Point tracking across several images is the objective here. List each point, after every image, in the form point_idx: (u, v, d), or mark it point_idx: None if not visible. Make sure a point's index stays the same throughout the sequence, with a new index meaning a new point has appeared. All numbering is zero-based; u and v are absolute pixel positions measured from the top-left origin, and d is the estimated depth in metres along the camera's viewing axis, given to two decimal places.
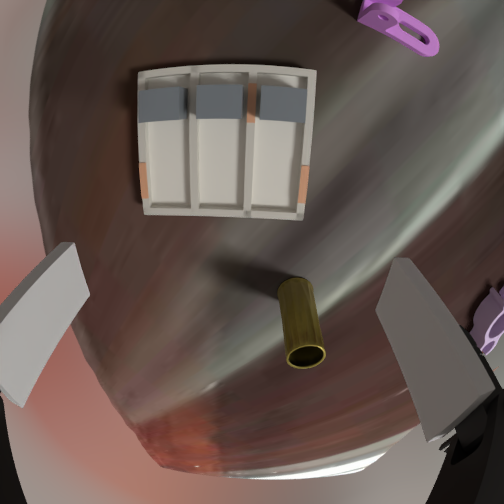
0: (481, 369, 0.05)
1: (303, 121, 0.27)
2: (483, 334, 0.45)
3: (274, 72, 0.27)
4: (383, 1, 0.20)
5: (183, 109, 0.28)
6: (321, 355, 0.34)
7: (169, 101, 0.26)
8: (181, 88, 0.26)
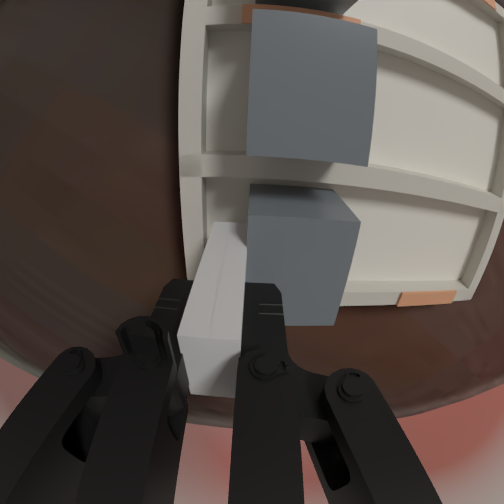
0: (235, 317, 0.07)
1: None
2: None
3: None
4: None
5: (316, 199, 0.11)
6: None
7: (295, 246, 0.10)
8: (253, 205, 0.10)
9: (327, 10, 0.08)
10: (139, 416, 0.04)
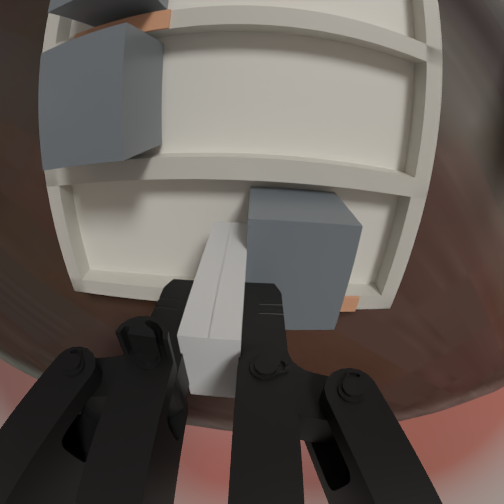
0: (235, 317, 0.07)
1: None
2: None
3: None
4: None
5: (318, 203, 0.11)
6: None
7: (296, 250, 0.09)
8: (253, 208, 0.10)
9: (149, 10, 0.08)
10: (139, 416, 0.04)
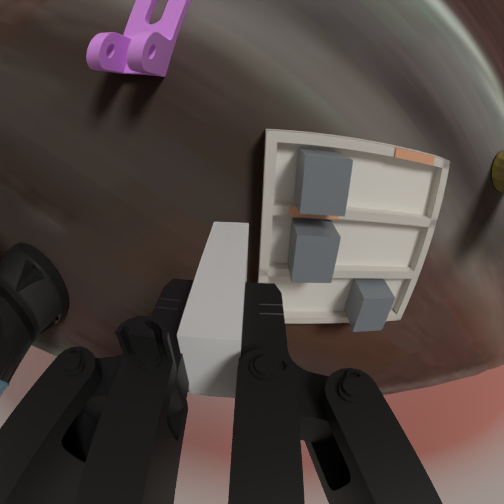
0: (235, 317, 0.07)
1: (350, 162, 0.20)
2: None
3: (273, 184, 0.24)
4: (121, 52, 0.17)
5: (380, 287, 0.29)
6: None
7: (375, 306, 0.27)
8: (363, 293, 0.28)
9: None
10: (139, 416, 0.04)
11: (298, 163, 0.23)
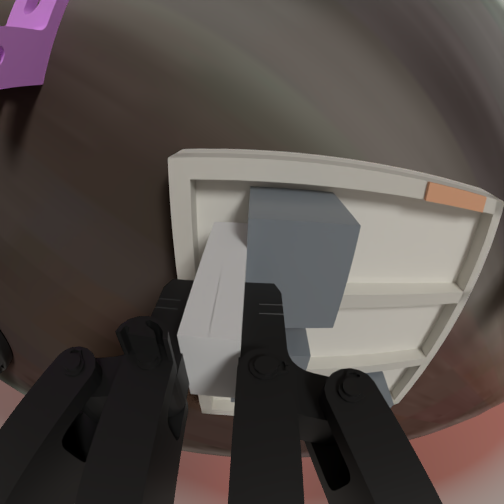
0: (235, 317, 0.07)
1: (355, 230, 0.09)
2: None
3: (192, 256, 0.14)
4: None
5: None
6: None
7: None
8: None
9: None
10: (139, 416, 0.04)
11: None
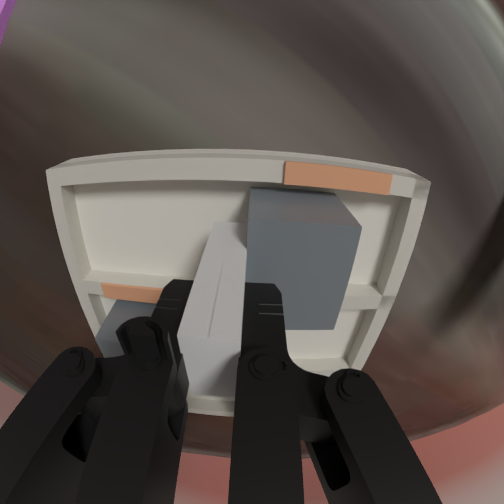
0: (235, 317, 0.07)
1: (356, 232, 0.09)
2: None
3: (73, 251, 0.13)
4: None
5: None
6: None
7: None
8: None
9: None
10: (139, 416, 0.04)
11: None
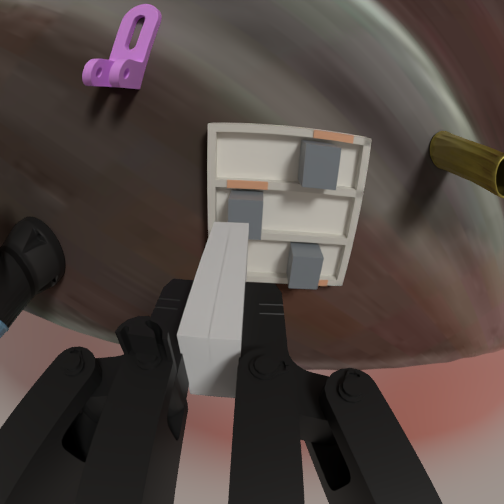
0: (235, 317, 0.07)
1: (339, 149, 0.27)
2: None
3: (214, 163, 0.32)
4: (107, 72, 0.25)
5: (312, 249, 0.36)
6: None
7: (305, 264, 0.35)
8: (293, 252, 0.35)
9: None
10: (139, 416, 0.04)
11: (301, 151, 0.30)
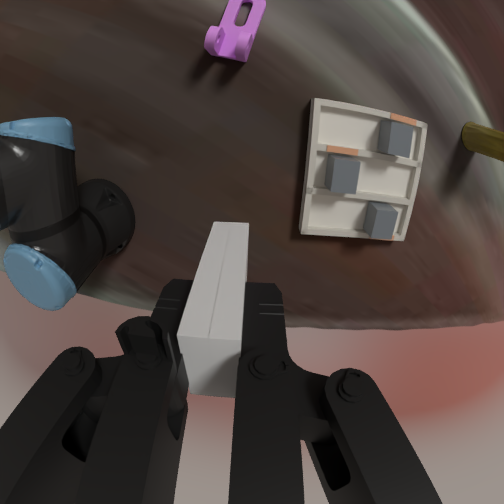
0: (235, 317, 0.07)
1: (412, 128, 0.32)
2: None
3: (317, 130, 0.36)
4: (220, 41, 0.29)
5: (387, 206, 0.41)
6: None
7: (385, 217, 0.39)
8: (376, 207, 0.40)
9: None
10: (139, 416, 0.04)
11: (382, 128, 0.35)
